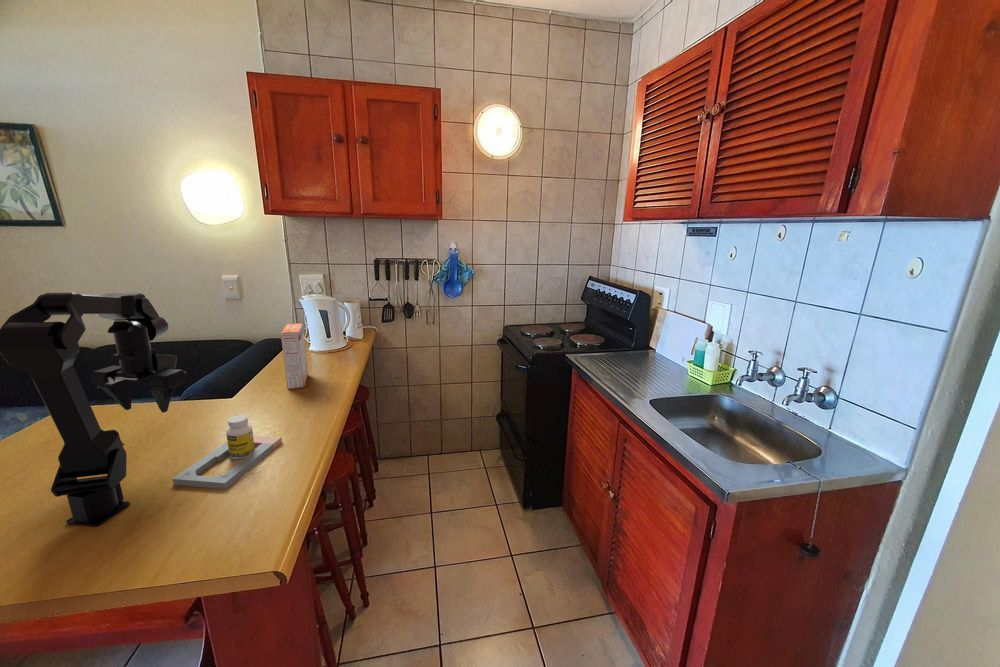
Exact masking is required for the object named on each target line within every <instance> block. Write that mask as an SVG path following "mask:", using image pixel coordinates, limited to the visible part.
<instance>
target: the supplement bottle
mask: <svg viewBox="0 0 1000 667" xmlns="http://www.w3.org/2000/svg"><path fill="white" fill-rule="evenodd" d="M227 424H228V427H227V429H226V431H225V434H226V442H227V443H228V450H229V455H228V456H229V457H230V459H232V460H243V459H242V458H244V457H245V456H246V455H248V454H249V453H250V452H251V451H253V450H254V449H255V447H254V439H253V435H254V432H253V426H252V424H250V423H249V420H248V416H247V415H241V414H239V415H234V416H232V417H230V418H228V420H227Z"/></svg>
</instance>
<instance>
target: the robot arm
mask: <svg viewBox="0 0 1000 667" xmlns="http://www.w3.org/2000/svg"><path fill="white" fill-rule="evenodd" d="M83 315H98V316H99V317H100V318H104V319H107V320H113V324H111V326H109V328H108V329H107V333H108V334H113V338H114V342H115V347H116V353H115V354H112V355H111V356H112V359H113V360H115V361H116V360H117V361H119V362H118V363H119V365H110V366H106V367H104V368H100V369H97V370H94V371H92V373H91V375H90V376H89V379H90V383H91V385H97V388H99V389H101V390H103V391H104V392H105V393H106V394H107V395H109V396H110V397H111V398H112V399H113V400H114V401H116V402H117V404H119V405H120V406H121V407H122V408H123V409H124V410H126V411H129V410H131V409H132V397H131V393H130V392H131V391H130V386H131V384H132V382H133V381H136V382H137V381H139V382H140V381H142V382H148V383H149V386H151V388H150V389H149V390H150V392H151V395H152V397H153V398H154V400H155V402H156V405H157V407H158V408H159V410H160V412H161V413H166V412H168V410H169V407H170V403H171V399H172V395H173V394H174V390H175V389H176V388H177V387H178V386H180V385H182V384H183V383H185V382H187V381H188V375H187V371H186V370H183V369H176V368H177V362H178V361H177V360H178V355H173V354H172V355H171V354H159V351H158V350H157V349H156V348H152V347H151V341H154V340H156V339H157V338H160V337H162V336H163V335H165V334H167V332H168V330H169V323H168V322H167V321H166V319H165V318H163V317H162V316H161V315H159V314H158V312H157V310H156V309H155V307H154V306H153V304H152V303H151V301H150V300H149V299H148V298H146V295H145V294H144V293H141V292H139V293H137V292H134V293H133V292H132V293H131V292H130V293H127V292H125V293H121V292H120V293H117V292H116V293H104V294H98V295H95V294H94V295H93V294H81V293H77V292H46V293H44V294H43V293H42V294H40V295H38V296H37V298H36V299H35V301H34V302H33V303H32V304H30V305H28V306H26V307H25V308H22V309H20V310H19V311H17V312H15V313H13V314H12V315H11V316H9V317H8V318H7V319H6V320H5V322H4V323H3V324H2V325H1V327H0V355H1V356H2V357H3V359H4V360H5V361H6V362H7V364H8V366H11V367H12V368H14V369H16V370H18V371H19V372H22V373H23V374H25V375H27V376H29V377H30V378H31V379H32V382H33V383H34V385H35V387H36V390H37V391H38V393H39V395H40V397H41V399H42V402H43V403H44V405H45V407H46V409H47V412H48V413H49V415H50V417H51V419H52V421H53V423H54V425H55V428H56V430H57V431H58V433H59V435H60V437H61V439H62V441H63V446H62V448H61V450H60V452H59V454H58V456H57V459H58V463H59V466H58V468H57V472H56V474H55V477H54V480H53V482H52V486H51V488H50V491H51V493H52V494H53V496H54V497H63V496H66V498H67V502H68V506H69V508H70V513H71V517H70V518H68V519H66V521H65V522H66V525H76V526H77V525H78V526H87V527H88V526H90V527H97V526H100V525H102V524H103V523H104V522H106V521H108V520H109V519H111V518H112V517H113V516H115V515H116V514H118V513H120V512H121V511H123V510H124V509H125V508H127V507H128V506H130V505H131V502H130V501H126V500H125V501H124V495H123V489H122V485H121V482H122V481H123V480H124V479H125V478H126V477H127V460H128V459H127V451H126V450H125V448H124V446H125V444H124V442H123V441H122V440H121V437H120V436H121V435H120V433H119V432H118V431H117V430H116V429H108V430H104V429H102V428H101V426H100V424H99V422H98V419H97V417H96V415H95V413H94V410H93V408H92V405H91V403H90V401H89V400H88V396H87V395H86V392H85V390H84V388H83V386H82V383H81V381H80V378H79V376H78V375H77V372H76V369H75V367H74V363H75V361H76V359H77V358H78V355H79V353H80V351H81V350H80V349H81V348H80V345H79V341H80V339H81V338H82V337H83V335H84V333H85V331H86V329H87V328H86V325H85V323H84V321H83V319H82V317H83ZM52 316H69V317H68V318H67V320H66V321H65V322H63V321H48V320H49V319H50V318H51V317H52ZM164 368H168V369H165V370H164ZM159 371H160V372H159ZM156 372H157V373H156ZM92 476H93V477H92Z"/></svg>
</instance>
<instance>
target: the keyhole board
mask: <svg viewBox="0 0 1000 667" xmlns="http://www.w3.org/2000/svg"><path fill="white" fill-rule="evenodd" d="M253 439H254V447H255V449H254V450H253V451H251V452H250V453H249V454H248V455H246V456H245V457H244V458H242V459H241V461H240V462H239V463H238V464H237V465H235V466H234V467H233V468H231V469H230V470H229V471H227V472H226V473H223V474H219V475H215V476H210V475H209V476H208V475H207V476H206V475H200V474H202V473H203V472H204V471H206V470H207V469H209V468H210V467H212V465H214V464H215V463H220V462H221V461H222V460H224V459H225V458H226V457H228V456H229V450H228V443H227V441H226V442H225V443H223V444H221V445H220V446H219V447H217V448H216V449H214V450H212V451H211V452H210V453H208V454H207V455H205V456H204V457H202V458H200V460H198V461H197V462H195V463H193V464H192V465H190V466H189V467H188V468H186V469H185V470H183V471H182V472H180V473H179V474H178V475H176V476H174V477H173V478H172V483H173V486H183V487H184V486H185V487H197V488H207V489H208V488H209V489H217V490H218V489H220V490H221V489H222V490H226V489H228V488H229V487H230V486H232V485H233V484H234V483H235V482H236V481H237V480H239V479H240V478H241V477H242V476H243V475H244V474H246V473H247V472H248V471H249V470H250V469H252V468H253V467H254V466H256V465H257V463H259V462H260V461H261V460H262V459H264V458H265V457H266V456H267V455H268V454H270V453H271V452H272V451H273V450H275V449H276V448H277V447H278V446H280V444H282V443H283V438H282V436H271V435H258V434H257V435H256V434H253ZM201 472H202V473H201Z"/></svg>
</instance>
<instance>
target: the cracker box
mask: <svg viewBox="0 0 1000 667" xmlns="http://www.w3.org/2000/svg"><path fill="white" fill-rule="evenodd" d="M304 328H305V327H304V323H300V322H299V323H287V324H286V325H285V326H284V328H283V330H282V331H281V332H280V338H281V347H282V354H283V363H284V364H283V366H284V371H285V379H286V389H287V390H293V389H301V388H303V389H304V388H305V387H306V383H307V380H308V376H309V370H308V359H307V350H306V339H305V332H304Z"/></svg>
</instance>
